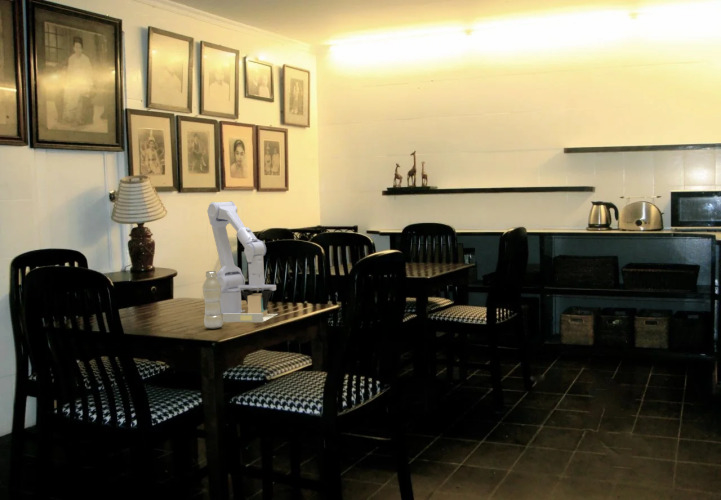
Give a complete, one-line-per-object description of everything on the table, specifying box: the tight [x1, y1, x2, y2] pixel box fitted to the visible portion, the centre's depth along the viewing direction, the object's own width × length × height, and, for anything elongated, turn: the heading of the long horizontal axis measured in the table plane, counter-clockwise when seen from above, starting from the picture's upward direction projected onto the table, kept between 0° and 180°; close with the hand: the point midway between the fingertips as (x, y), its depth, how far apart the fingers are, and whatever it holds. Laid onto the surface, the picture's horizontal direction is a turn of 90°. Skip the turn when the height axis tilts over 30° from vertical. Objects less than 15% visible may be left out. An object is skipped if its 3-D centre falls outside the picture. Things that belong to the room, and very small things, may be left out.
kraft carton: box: [247, 292, 268, 316], centre depth 276 cm, size 5×7×8 cm
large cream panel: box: [222, 312, 278, 323], centre depth 272 cm, size 15×18×4 cm
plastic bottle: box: [202, 270, 224, 330], centre depth 255 cm, size 6×7×20 cm
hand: (257, 309), depth 276 cm, fingers closed on kraft carton, 5 cm apart
